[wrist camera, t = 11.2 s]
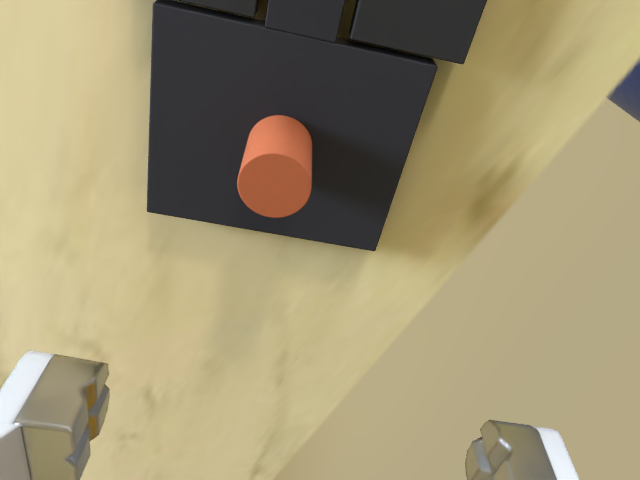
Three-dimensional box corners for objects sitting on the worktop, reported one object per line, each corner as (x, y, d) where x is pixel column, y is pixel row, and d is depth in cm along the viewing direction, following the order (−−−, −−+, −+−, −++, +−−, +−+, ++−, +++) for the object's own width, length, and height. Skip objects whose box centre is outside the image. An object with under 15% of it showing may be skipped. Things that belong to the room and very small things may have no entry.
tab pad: (452, -1, 22) (486, 27, 17) (373, 239, 29) (383, 301, 24) (162, -72, 20) (121, -60, 16) (152, 200, 27) (122, 259, 23)
